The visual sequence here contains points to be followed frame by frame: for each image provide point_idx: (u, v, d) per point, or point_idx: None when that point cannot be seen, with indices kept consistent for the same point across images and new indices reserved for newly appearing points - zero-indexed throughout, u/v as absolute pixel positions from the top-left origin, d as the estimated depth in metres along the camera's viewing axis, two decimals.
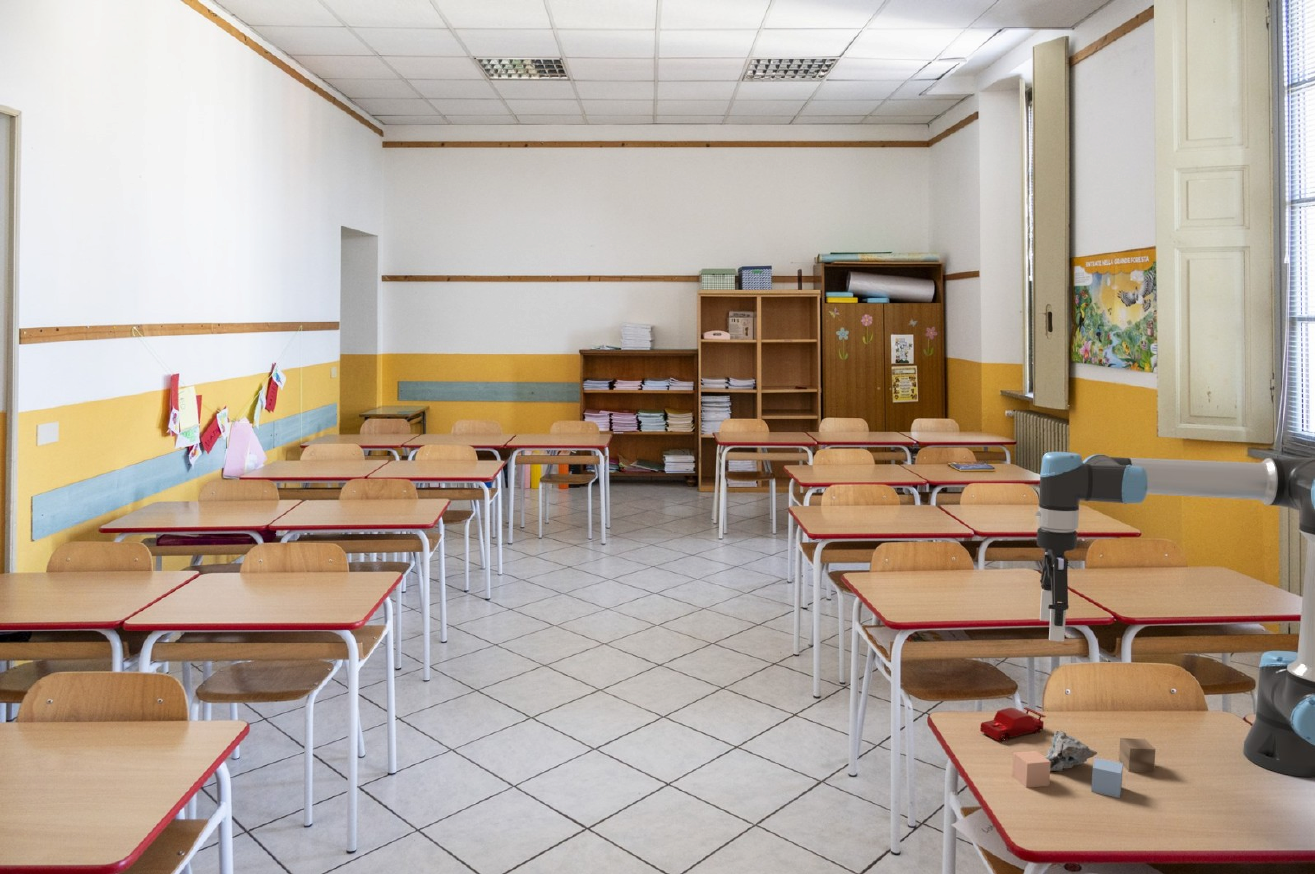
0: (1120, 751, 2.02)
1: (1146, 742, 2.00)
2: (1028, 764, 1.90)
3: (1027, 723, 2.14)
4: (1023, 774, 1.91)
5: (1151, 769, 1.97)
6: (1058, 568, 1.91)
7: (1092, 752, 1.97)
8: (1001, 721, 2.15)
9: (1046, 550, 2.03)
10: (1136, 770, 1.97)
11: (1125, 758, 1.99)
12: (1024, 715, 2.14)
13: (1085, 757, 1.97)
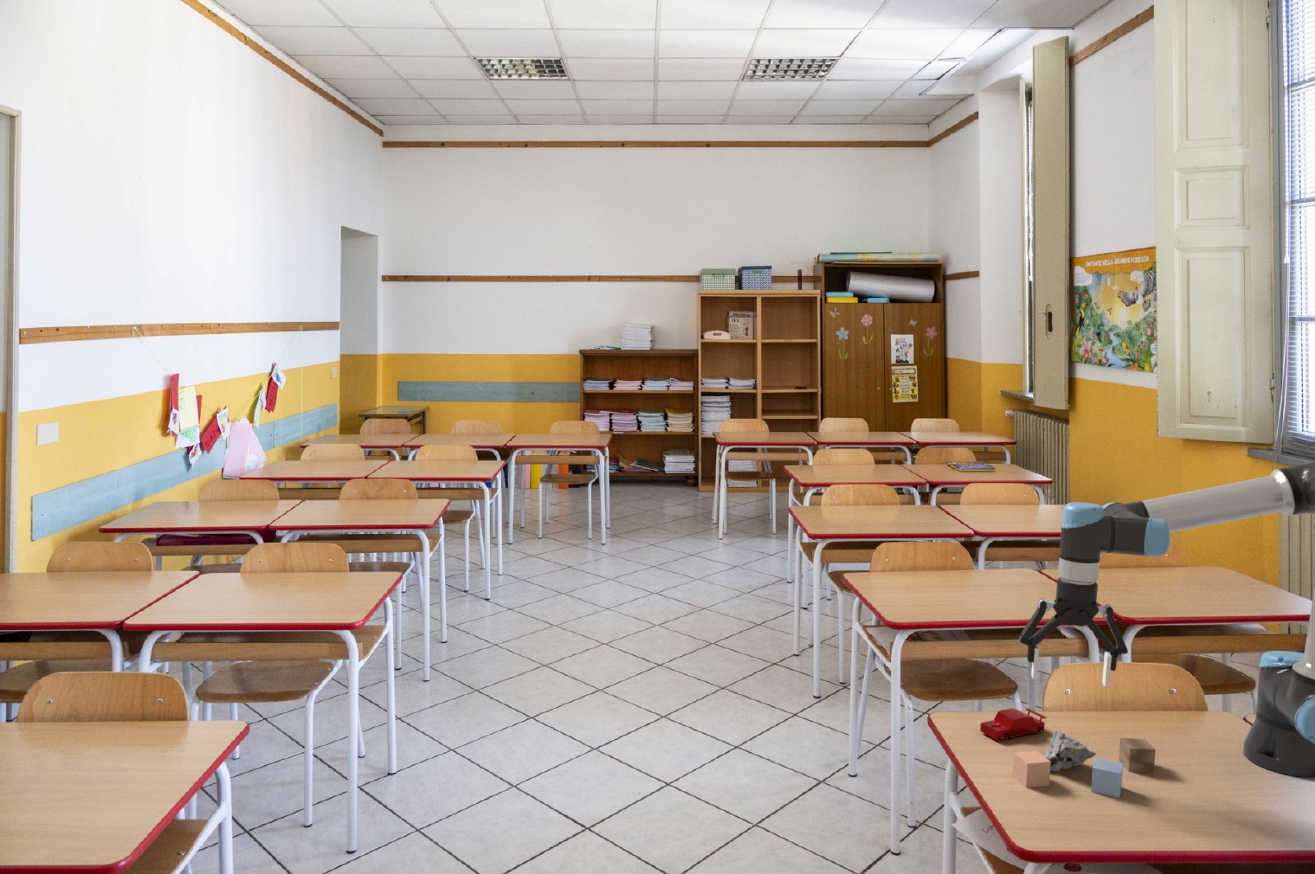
0: (1120, 751, 2.02)
1: (1146, 742, 2.00)
2: (1028, 764, 1.90)
3: (1027, 724, 2.14)
4: (1023, 774, 1.91)
5: (1151, 769, 1.97)
6: (1038, 607, 1.98)
7: (1091, 753, 1.97)
8: (1001, 722, 2.15)
9: None
10: (1136, 770, 1.97)
11: (1125, 758, 1.99)
12: (1024, 716, 2.14)
13: (1083, 758, 1.97)
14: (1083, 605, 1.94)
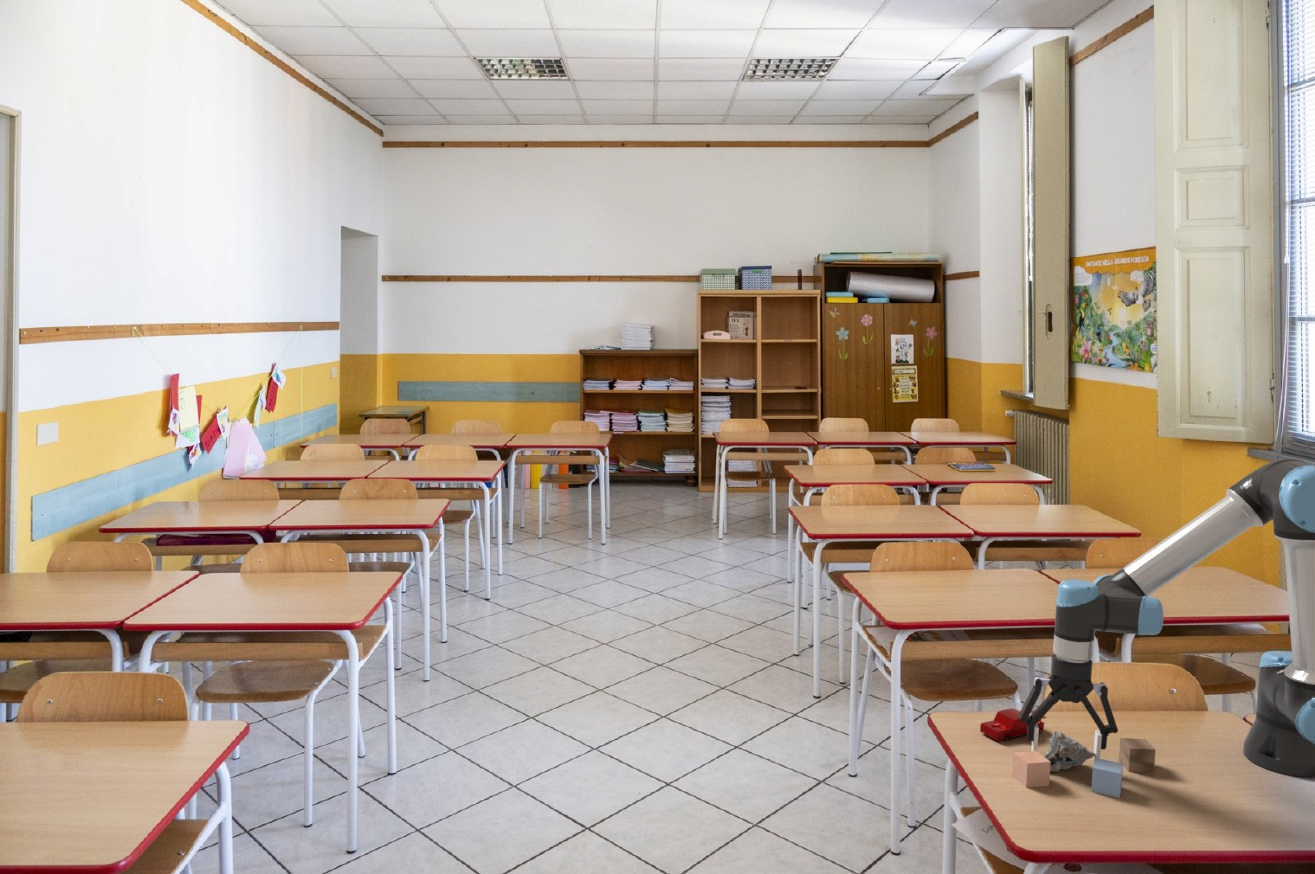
0: (1120, 751, 2.02)
1: (1146, 742, 2.00)
2: (1028, 764, 1.90)
3: None
4: (1023, 774, 1.91)
5: (1151, 769, 1.97)
6: (1034, 685, 2.00)
7: (1090, 753, 1.96)
8: (1000, 722, 2.14)
9: None
10: (1136, 770, 1.97)
11: (1125, 758, 1.99)
12: None
13: (1083, 758, 1.97)
14: (1079, 681, 1.96)
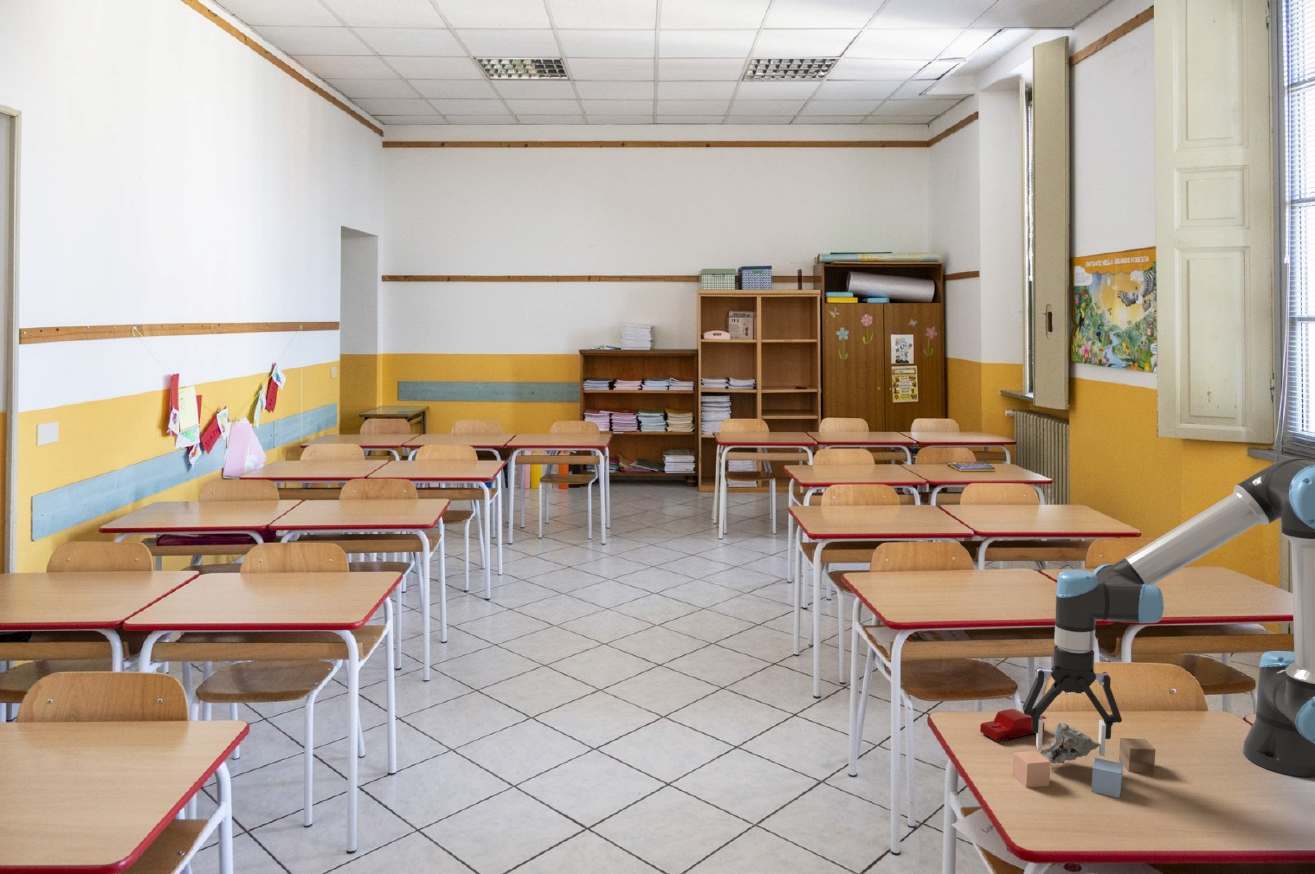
0: (1120, 751, 2.02)
1: (1146, 742, 2.00)
2: (1028, 764, 1.90)
3: (1027, 724, 2.13)
4: (1023, 774, 1.91)
5: (1151, 769, 1.97)
6: (1037, 677, 1.99)
7: (1095, 744, 1.96)
8: (1001, 722, 2.14)
9: None
10: (1136, 770, 1.97)
11: (1125, 758, 1.99)
12: (1024, 716, 2.13)
13: (1088, 749, 1.96)
14: (1081, 671, 1.96)
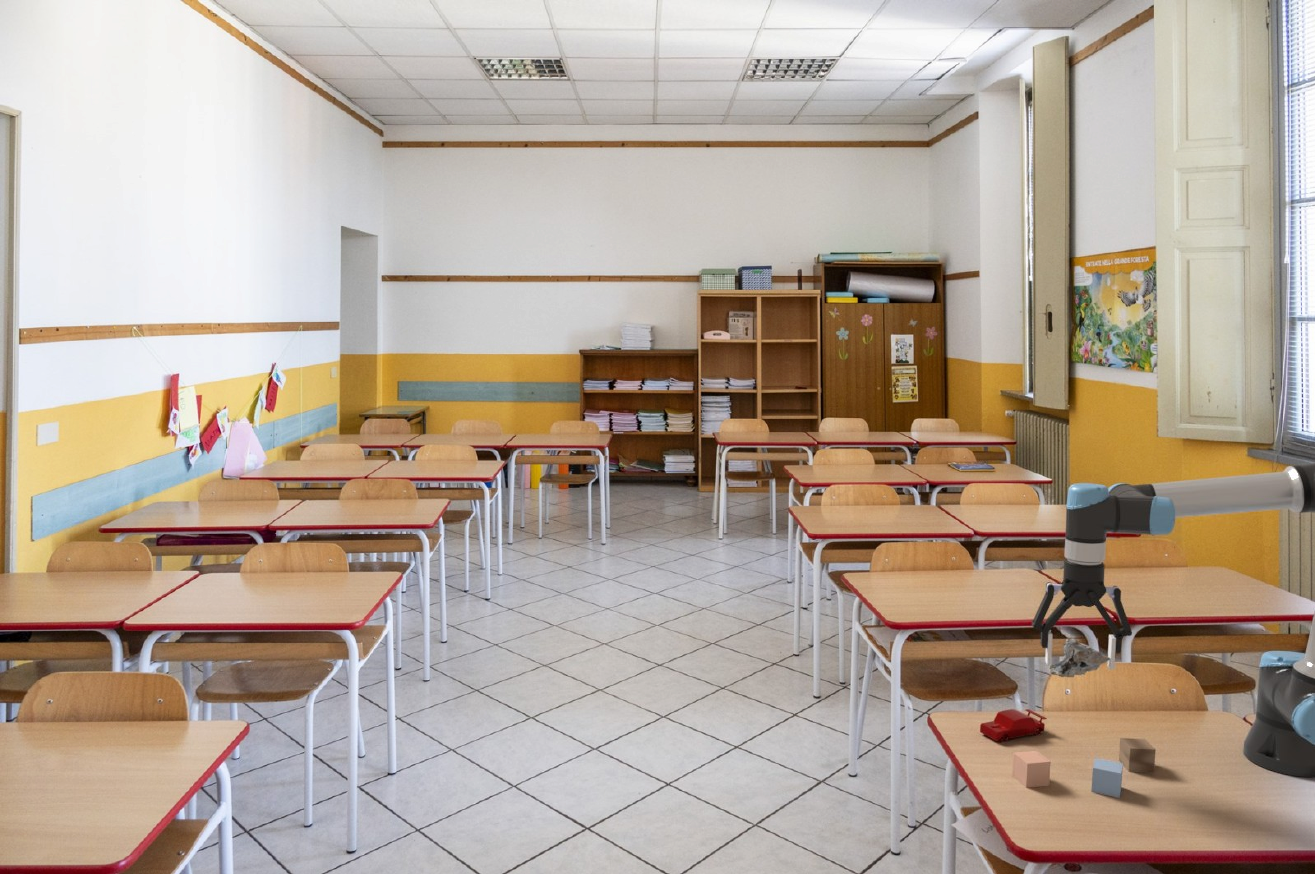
0: (1120, 751, 2.02)
1: (1146, 742, 2.00)
2: (1028, 764, 1.90)
3: (1027, 725, 2.13)
4: (1023, 774, 1.91)
5: (1151, 769, 1.97)
6: (1046, 591, 1.98)
7: (1105, 658, 1.95)
8: (1001, 722, 2.14)
9: None
10: (1136, 770, 1.97)
11: (1125, 758, 1.99)
12: (1024, 717, 2.13)
13: (1098, 663, 1.95)
14: (1091, 585, 1.94)
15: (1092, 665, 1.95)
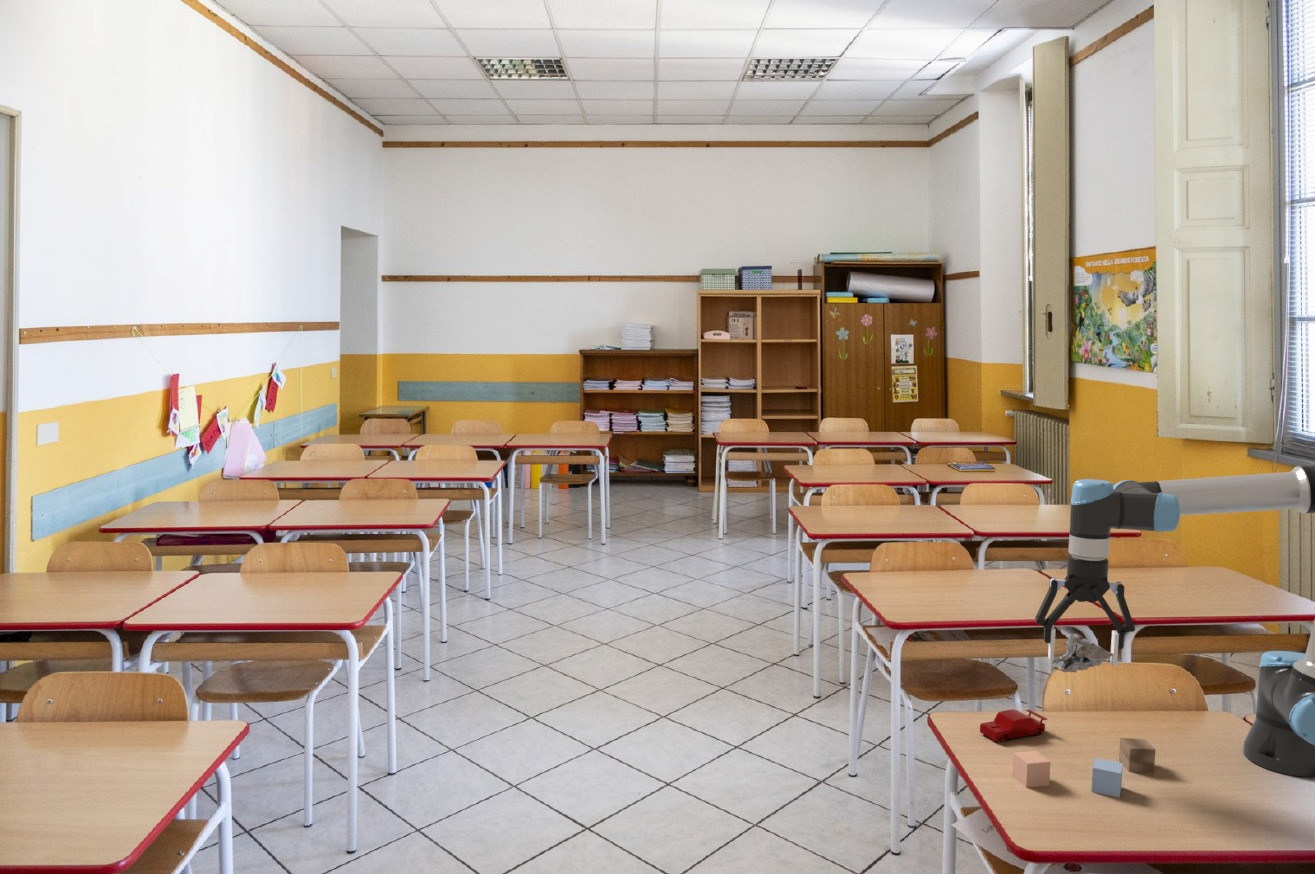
0: (1120, 751, 2.02)
1: (1146, 742, 2.00)
2: (1028, 764, 1.90)
3: (1027, 725, 2.13)
4: (1023, 774, 1.91)
5: (1151, 769, 1.97)
6: (1050, 587, 1.99)
7: (1107, 653, 1.95)
8: (1000, 723, 2.14)
9: None
10: (1136, 770, 1.97)
11: (1125, 758, 1.99)
12: (1024, 717, 2.13)
13: (1100, 658, 1.96)
14: (1095, 580, 1.95)
15: (1095, 660, 1.96)
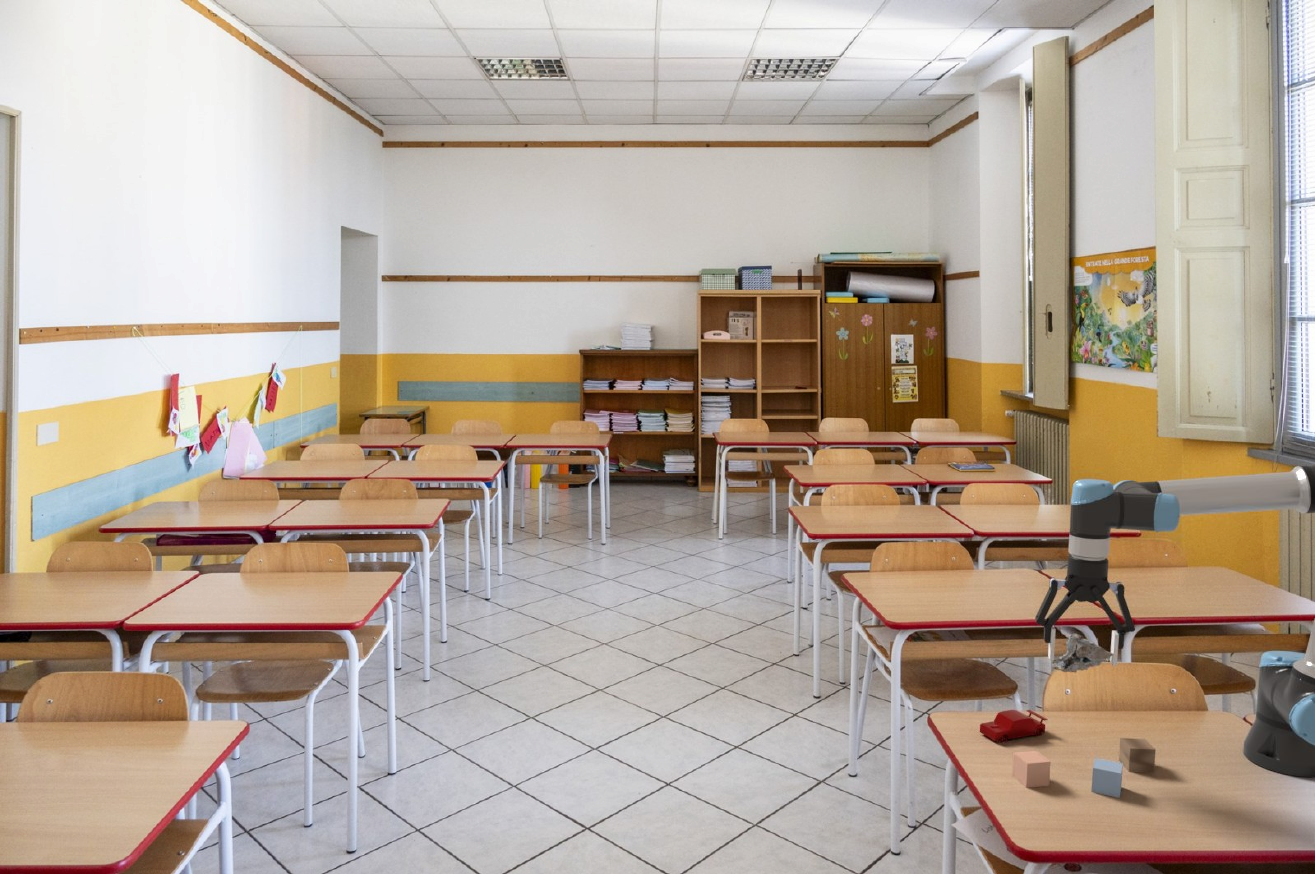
0: (1120, 751, 2.02)
1: (1146, 742, 2.00)
2: (1028, 764, 1.90)
3: (1027, 726, 2.13)
4: (1023, 774, 1.91)
5: (1151, 769, 1.97)
6: (1050, 587, 1.99)
7: (1107, 653, 1.95)
8: (1000, 723, 2.14)
9: None
10: (1136, 770, 1.97)
11: (1125, 758, 1.99)
12: (1024, 717, 2.13)
13: (1100, 658, 1.96)
14: (1095, 580, 1.95)
15: (1095, 660, 1.96)
